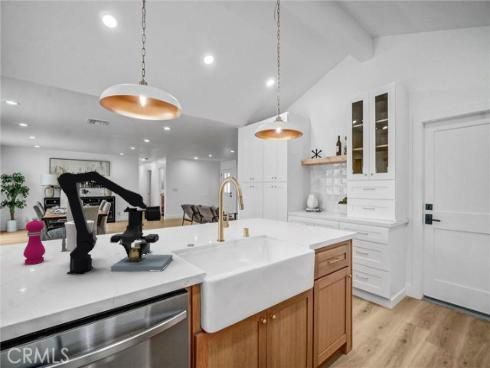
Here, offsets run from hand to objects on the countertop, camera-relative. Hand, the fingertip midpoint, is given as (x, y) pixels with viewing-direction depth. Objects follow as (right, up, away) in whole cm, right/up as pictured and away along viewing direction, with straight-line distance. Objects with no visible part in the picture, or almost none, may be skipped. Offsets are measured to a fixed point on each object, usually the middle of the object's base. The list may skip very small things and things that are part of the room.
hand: (134, 258), depth 104 cm
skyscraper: (-44, -3, +24) cm, 50 cm away
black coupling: (-4, -3, +18) cm, 19 cm away
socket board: (+4, -3, 0) cm, 5 cm away
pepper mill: (-45, -3, +2) cm, 45 cm away
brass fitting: (0, -2, 0) cm, 2 cm away
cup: (-25, -3, +1) cm, 25 cm away
